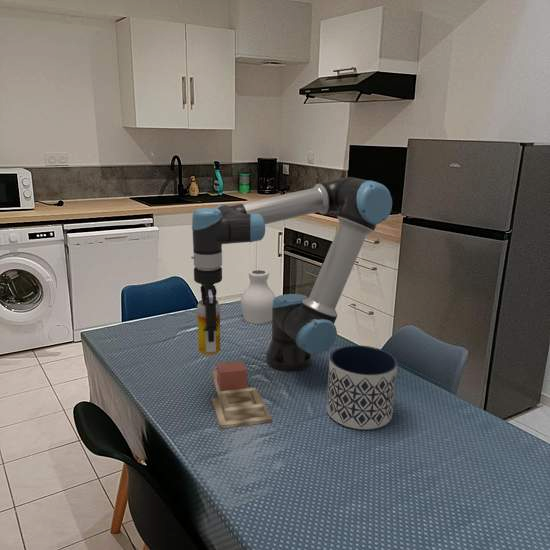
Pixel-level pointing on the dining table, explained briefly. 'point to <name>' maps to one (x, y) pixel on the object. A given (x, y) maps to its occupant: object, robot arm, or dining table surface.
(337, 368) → the planter
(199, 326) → the beer can
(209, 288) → the robot arm
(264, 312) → the vase
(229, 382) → the salmon pink block
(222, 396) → the dock
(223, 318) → the dining table surface
